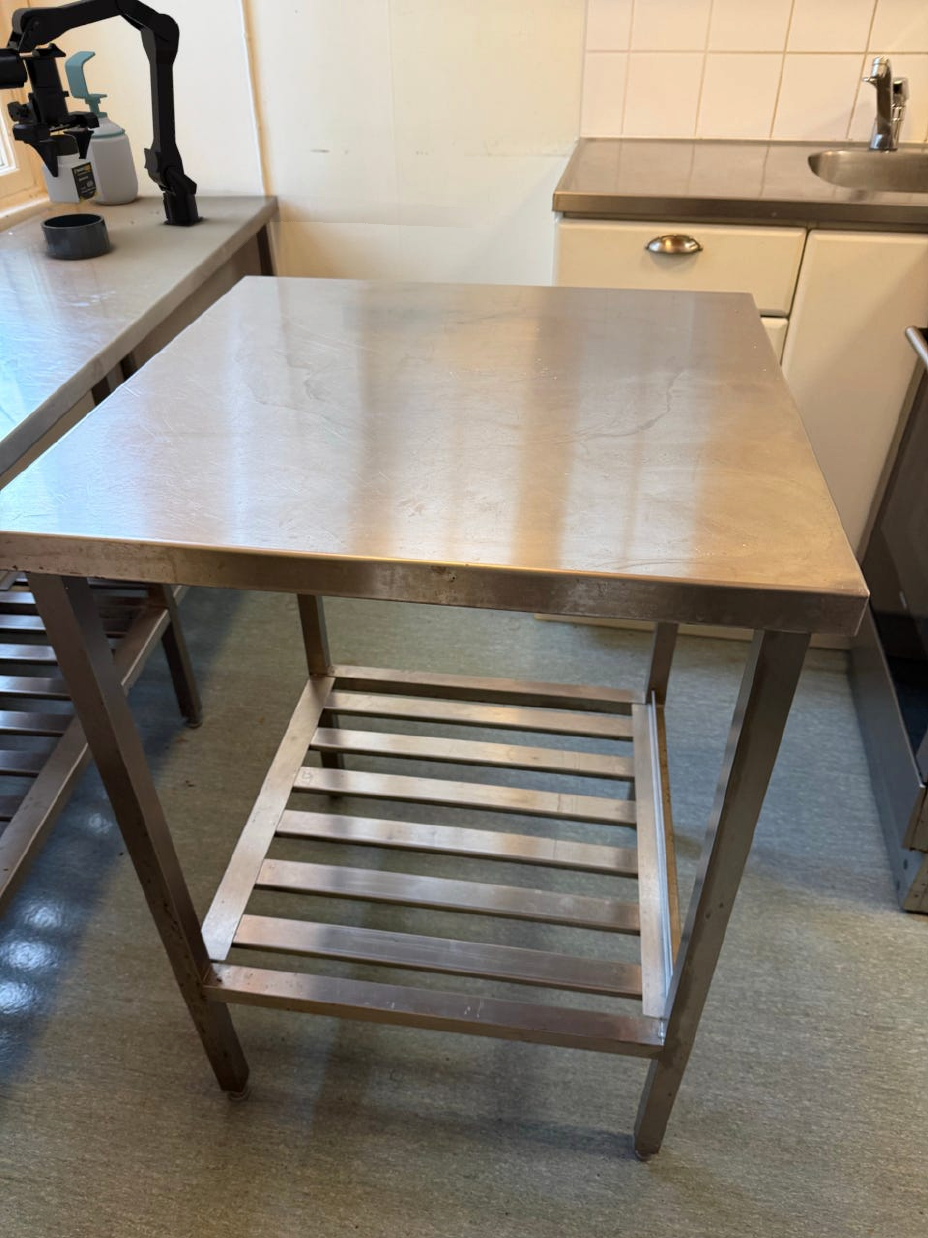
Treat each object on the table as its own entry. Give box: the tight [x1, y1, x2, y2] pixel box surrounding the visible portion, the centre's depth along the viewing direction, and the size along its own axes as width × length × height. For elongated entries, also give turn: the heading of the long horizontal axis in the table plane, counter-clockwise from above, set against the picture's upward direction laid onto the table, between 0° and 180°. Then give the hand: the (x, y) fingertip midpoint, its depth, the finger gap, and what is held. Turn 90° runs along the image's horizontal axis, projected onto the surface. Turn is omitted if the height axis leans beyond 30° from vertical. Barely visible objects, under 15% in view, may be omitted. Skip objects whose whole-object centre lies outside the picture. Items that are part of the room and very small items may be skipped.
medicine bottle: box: [40, 133, 98, 205], centre depth 184 cm, size 7×7×12 cm
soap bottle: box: [64, 50, 139, 206], centre depth 211 cm, size 12×12×31 cm
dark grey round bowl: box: [40, 212, 112, 261], centre depth 183 cm, size 12×12×6 cm
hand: (68, 173), depth 184 cm, fingers closed on medicine bottle, 7 cm apart
